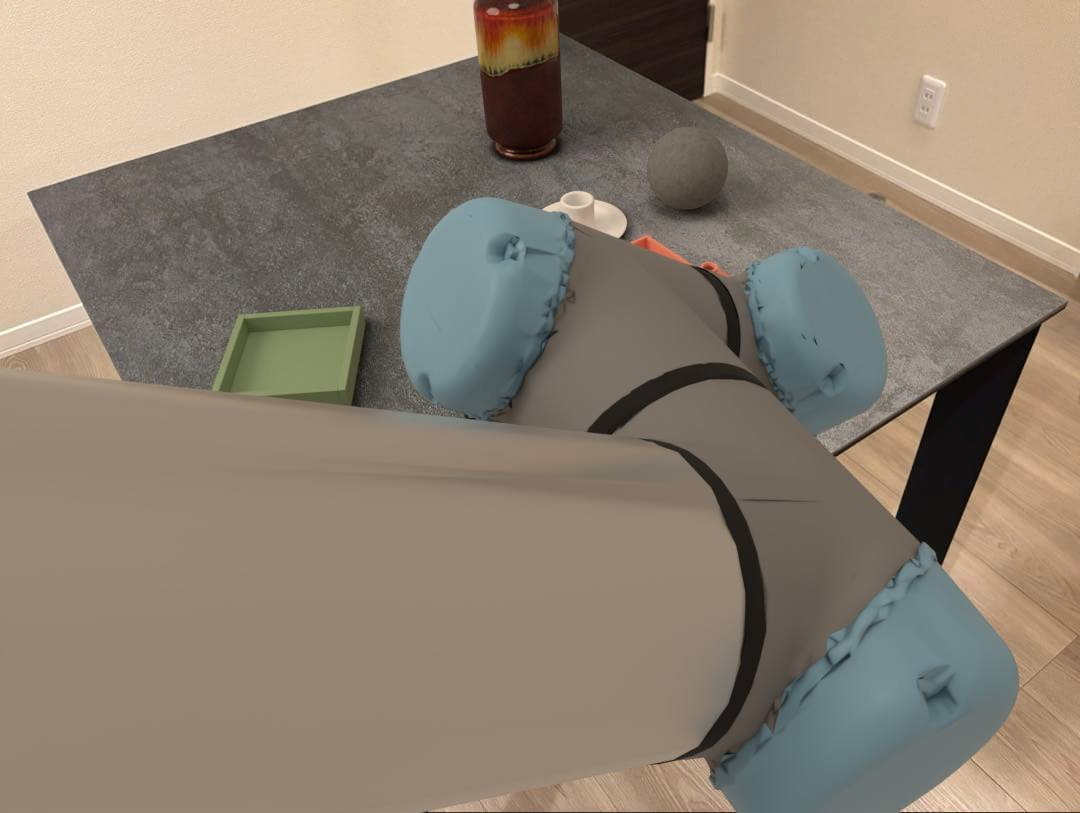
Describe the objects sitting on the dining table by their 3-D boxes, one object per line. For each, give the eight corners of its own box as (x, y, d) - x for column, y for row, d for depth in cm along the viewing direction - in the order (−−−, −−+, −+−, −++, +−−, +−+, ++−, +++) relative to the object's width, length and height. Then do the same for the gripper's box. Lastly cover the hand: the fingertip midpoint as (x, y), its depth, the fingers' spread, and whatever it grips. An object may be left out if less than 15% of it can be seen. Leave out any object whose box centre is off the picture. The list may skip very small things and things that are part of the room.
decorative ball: (738, 213, 104) (748, 138, 97) (668, 232, 102) (672, 158, 95) (699, 177, 111) (705, 106, 104) (632, 195, 109) (634, 123, 102)
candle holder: (572, 194, 110) (570, 164, 107) (645, 222, 104) (647, 192, 101) (511, 235, 104) (508, 204, 101) (586, 267, 98) (586, 236, 95)
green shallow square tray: (216, 418, 83) (207, 399, 81) (245, 332, 93) (238, 314, 91) (351, 408, 83) (345, 389, 81) (365, 323, 93) (360, 305, 91)
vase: (477, 161, 118) (453, -38, 100) (502, 126, 126) (484, -65, 107) (551, 168, 115) (540, -35, 97) (572, 132, 123) (566, -63, 105)
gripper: (560, 690, 37) (347, 725, 52) (698, 344, 53) (505, 448, 68) (437, 590, 35) (252, 657, 50) (619, 261, 51) (438, 387, 66)
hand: (398, 536), depth 59 cm, fingers open, 13 cm apart
